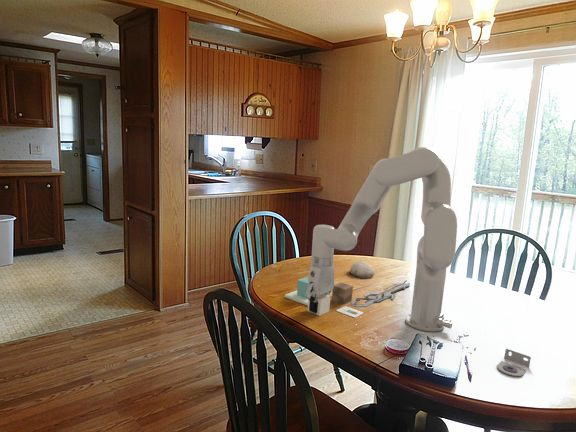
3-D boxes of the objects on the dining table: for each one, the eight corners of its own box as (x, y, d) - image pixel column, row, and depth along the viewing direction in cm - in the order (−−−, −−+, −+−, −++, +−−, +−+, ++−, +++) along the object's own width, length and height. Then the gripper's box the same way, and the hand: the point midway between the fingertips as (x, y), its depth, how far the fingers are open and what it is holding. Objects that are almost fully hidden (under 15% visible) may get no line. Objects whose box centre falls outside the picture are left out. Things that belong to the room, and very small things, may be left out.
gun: (345, 306, 160) (367, 314, 153) (345, 300, 160) (368, 308, 153) (399, 283, 188) (420, 288, 181) (399, 278, 187) (420, 283, 180)
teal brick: (317, 295, 163) (318, 280, 162) (308, 299, 159) (309, 283, 158) (305, 291, 167) (306, 276, 165) (296, 294, 162) (297, 279, 161)
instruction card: (364, 313, 151) (364, 312, 151) (354, 317, 147) (355, 317, 147) (345, 306, 156) (345, 305, 156) (335, 310, 152) (336, 310, 152)
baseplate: (328, 298, 164) (328, 295, 163) (309, 306, 155) (309, 303, 154) (304, 289, 171) (304, 287, 171) (284, 297, 162) (284, 294, 162)
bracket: (493, 371, 117) (495, 359, 116) (504, 359, 124) (506, 348, 124) (519, 381, 113) (521, 369, 112) (529, 368, 120) (531, 356, 120)
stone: (366, 288, 191) (378, 275, 189) (349, 275, 190) (360, 262, 188) (363, 276, 203) (374, 264, 201) (347, 264, 202) (358, 252, 200)
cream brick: (329, 311, 151) (330, 295, 150) (319, 315, 147) (321, 299, 146) (316, 307, 154) (318, 291, 153) (307, 310, 150) (308, 294, 149)
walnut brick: (351, 300, 162) (352, 285, 161) (343, 304, 158) (345, 289, 157) (339, 297, 166) (340, 282, 165) (331, 300, 162) (332, 285, 160)
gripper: (315, 267, 138) (311, 319, 142) (344, 258, 151) (340, 306, 155) (297, 262, 143) (294, 312, 147) (327, 254, 156) (324, 300, 159)
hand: (318, 309), depth 151 cm, fingers closed on cream brick, 5 cm apart
